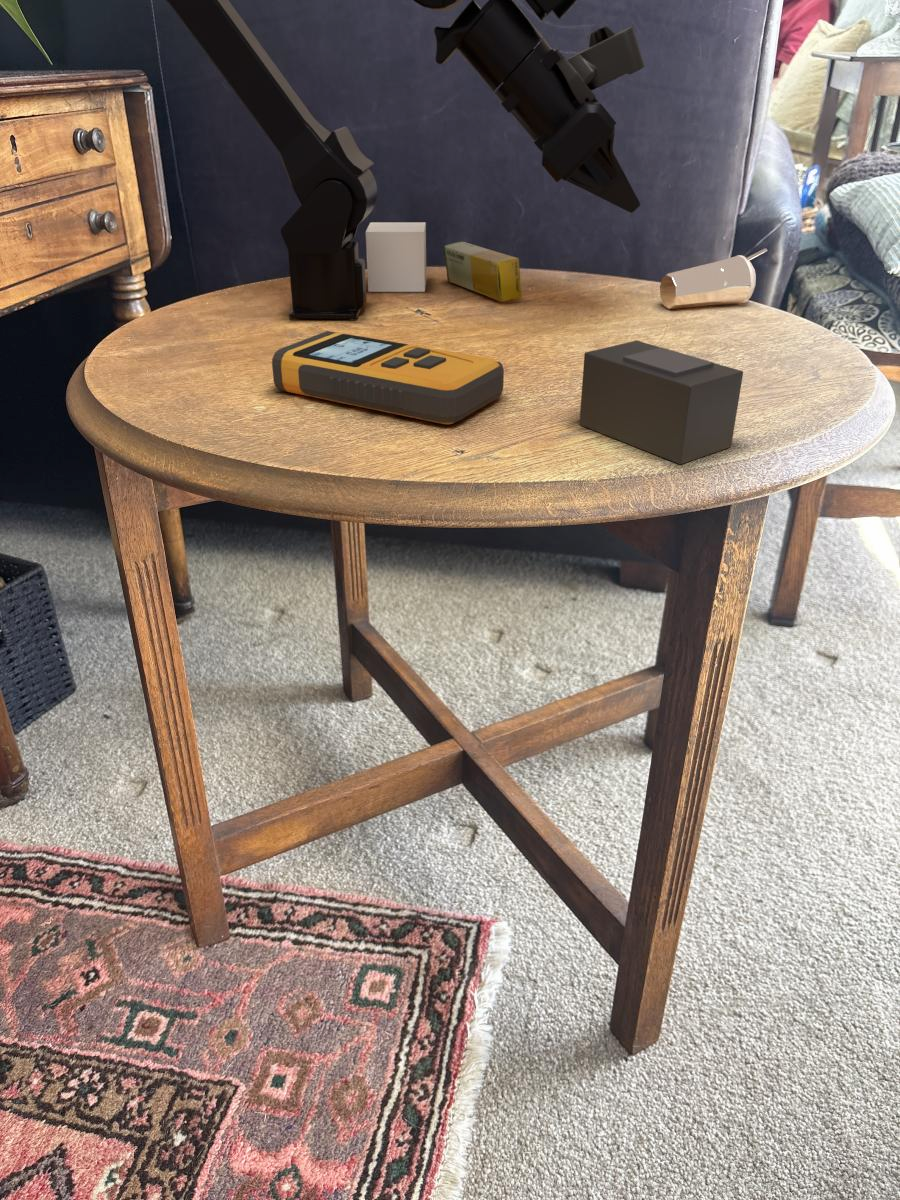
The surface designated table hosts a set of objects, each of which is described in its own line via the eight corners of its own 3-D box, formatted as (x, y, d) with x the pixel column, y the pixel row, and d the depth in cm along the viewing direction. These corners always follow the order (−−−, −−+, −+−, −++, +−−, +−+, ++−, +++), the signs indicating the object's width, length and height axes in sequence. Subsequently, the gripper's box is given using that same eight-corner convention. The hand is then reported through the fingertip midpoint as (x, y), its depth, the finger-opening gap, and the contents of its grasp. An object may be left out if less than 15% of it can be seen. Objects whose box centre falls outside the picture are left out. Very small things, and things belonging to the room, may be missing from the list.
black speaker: (584, 348, 62) (691, 382, 55) (637, 336, 64) (744, 367, 58) (578, 424, 64) (680, 465, 58) (629, 410, 67) (731, 447, 61)
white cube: (368, 292, 99) (365, 231, 96) (372, 279, 104) (369, 222, 101) (425, 291, 99) (424, 231, 96) (426, 279, 104) (425, 222, 101)
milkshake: (664, 250, 91) (755, 236, 93) (652, 297, 95) (739, 282, 97) (685, 277, 88) (778, 262, 90) (672, 325, 92) (761, 309, 95)
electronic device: (451, 435, 63) (451, 387, 61) (270, 394, 70) (266, 350, 68) (509, 399, 69) (510, 354, 68) (337, 365, 76) (335, 323, 74)
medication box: (445, 283, 103) (441, 244, 101) (467, 278, 104) (463, 240, 102) (500, 303, 94) (497, 261, 92) (523, 297, 95) (521, 256, 92)
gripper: (597, -21, 68) (727, 149, 73) (587, -9, 84) (695, 130, 89) (486, 100, 73) (616, 253, 78) (497, 90, 89) (603, 217, 94)
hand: (636, 208), depth 84 cm, fingers closed
